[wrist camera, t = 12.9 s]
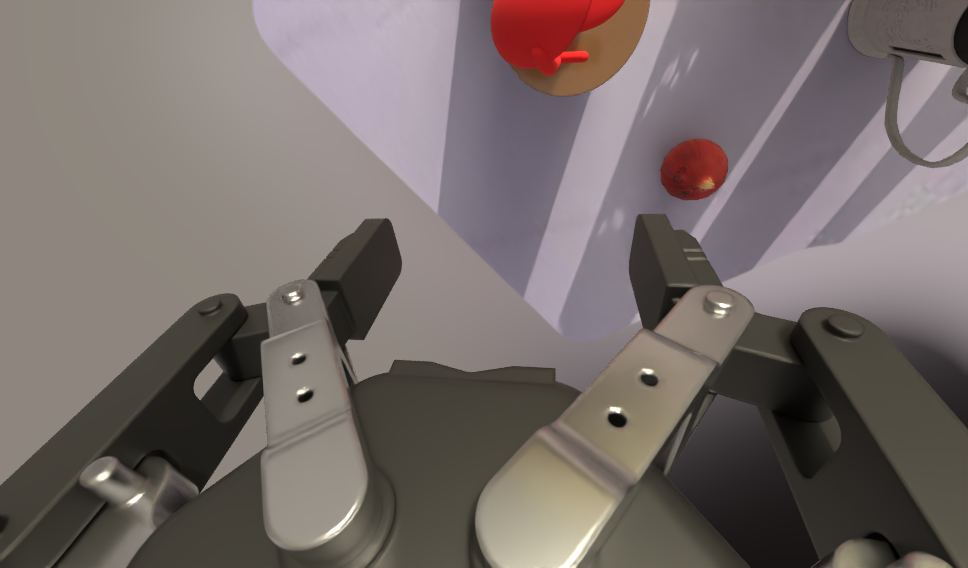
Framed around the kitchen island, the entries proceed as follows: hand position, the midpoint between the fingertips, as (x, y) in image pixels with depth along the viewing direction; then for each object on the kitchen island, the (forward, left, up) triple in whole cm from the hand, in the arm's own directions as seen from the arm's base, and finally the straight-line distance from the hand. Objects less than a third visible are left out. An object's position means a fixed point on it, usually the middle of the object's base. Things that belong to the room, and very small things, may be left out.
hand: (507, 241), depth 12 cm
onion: (+15, -9, -32) cm, 37 cm away
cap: (+2, +5, -19) cm, 20 cm away
